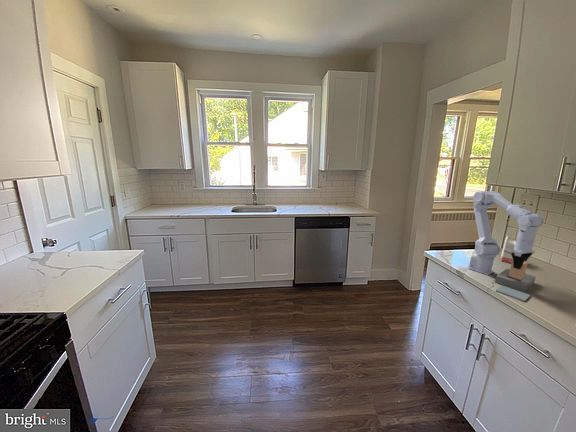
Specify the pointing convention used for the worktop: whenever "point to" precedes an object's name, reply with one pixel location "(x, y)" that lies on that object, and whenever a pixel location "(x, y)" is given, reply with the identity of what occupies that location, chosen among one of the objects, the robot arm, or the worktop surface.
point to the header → (515, 281)
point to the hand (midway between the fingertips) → (518, 267)
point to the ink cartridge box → (508, 250)
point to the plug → (518, 271)
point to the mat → (513, 293)
